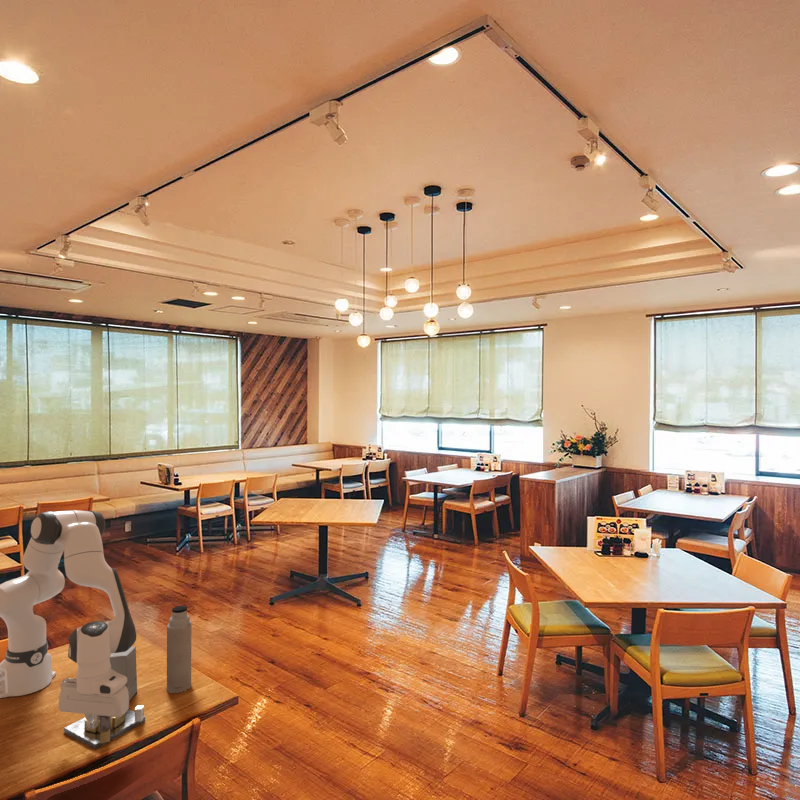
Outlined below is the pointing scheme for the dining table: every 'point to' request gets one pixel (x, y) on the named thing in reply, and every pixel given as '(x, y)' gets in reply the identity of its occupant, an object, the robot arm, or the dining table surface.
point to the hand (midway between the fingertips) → (93, 727)
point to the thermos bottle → (179, 651)
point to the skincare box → (126, 668)
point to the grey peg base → (93, 738)
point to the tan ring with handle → (105, 726)
